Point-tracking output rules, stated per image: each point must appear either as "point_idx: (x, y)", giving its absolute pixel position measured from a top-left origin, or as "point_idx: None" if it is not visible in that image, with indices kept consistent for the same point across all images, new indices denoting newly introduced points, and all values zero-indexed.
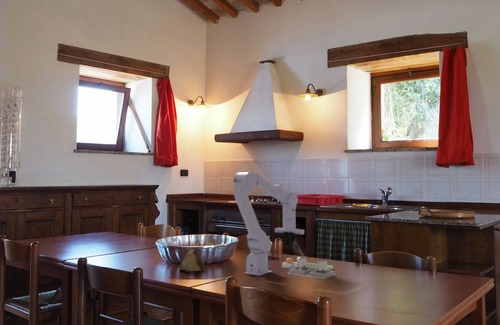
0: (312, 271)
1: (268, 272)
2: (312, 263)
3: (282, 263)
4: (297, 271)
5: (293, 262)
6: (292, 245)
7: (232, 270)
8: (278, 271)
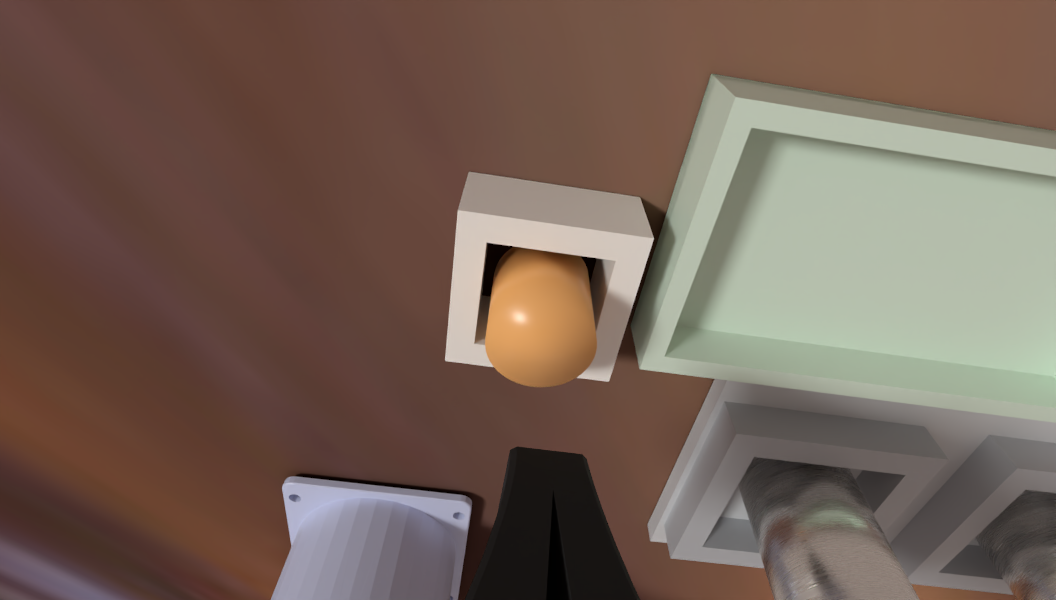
0: (934, 563)
1: (466, 539)
2: (938, 150)
3: (455, 356)
4: None
5: (588, 256)
6: (607, 537)
7: (114, 538)
8: (502, 441)
